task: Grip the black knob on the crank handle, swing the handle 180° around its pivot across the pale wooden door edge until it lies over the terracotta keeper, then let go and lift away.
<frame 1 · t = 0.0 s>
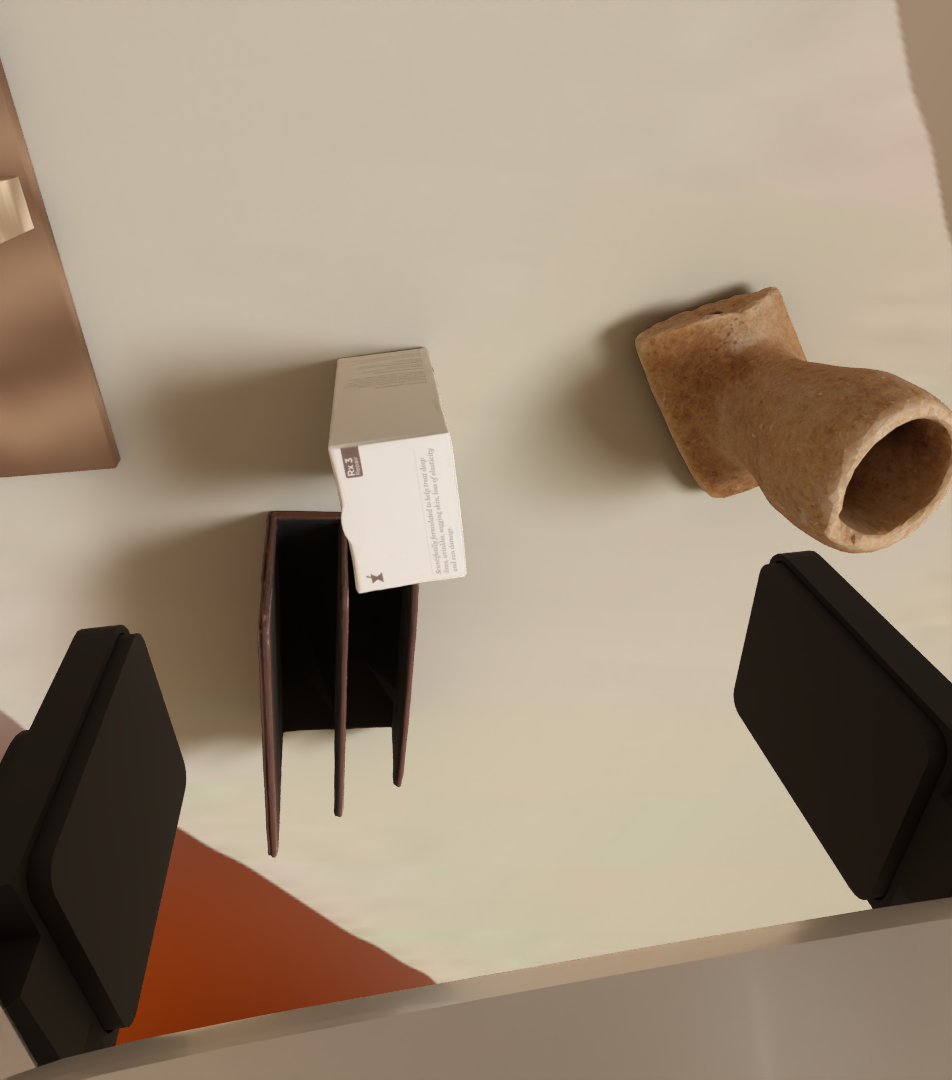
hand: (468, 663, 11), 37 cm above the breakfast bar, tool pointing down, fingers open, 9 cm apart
skincare box: (387, 407, 48), on the breakfast bar
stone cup: (737, 380, 51), on the breakfast bar
letter holder: (339, 622, 56), on the breakfast bar
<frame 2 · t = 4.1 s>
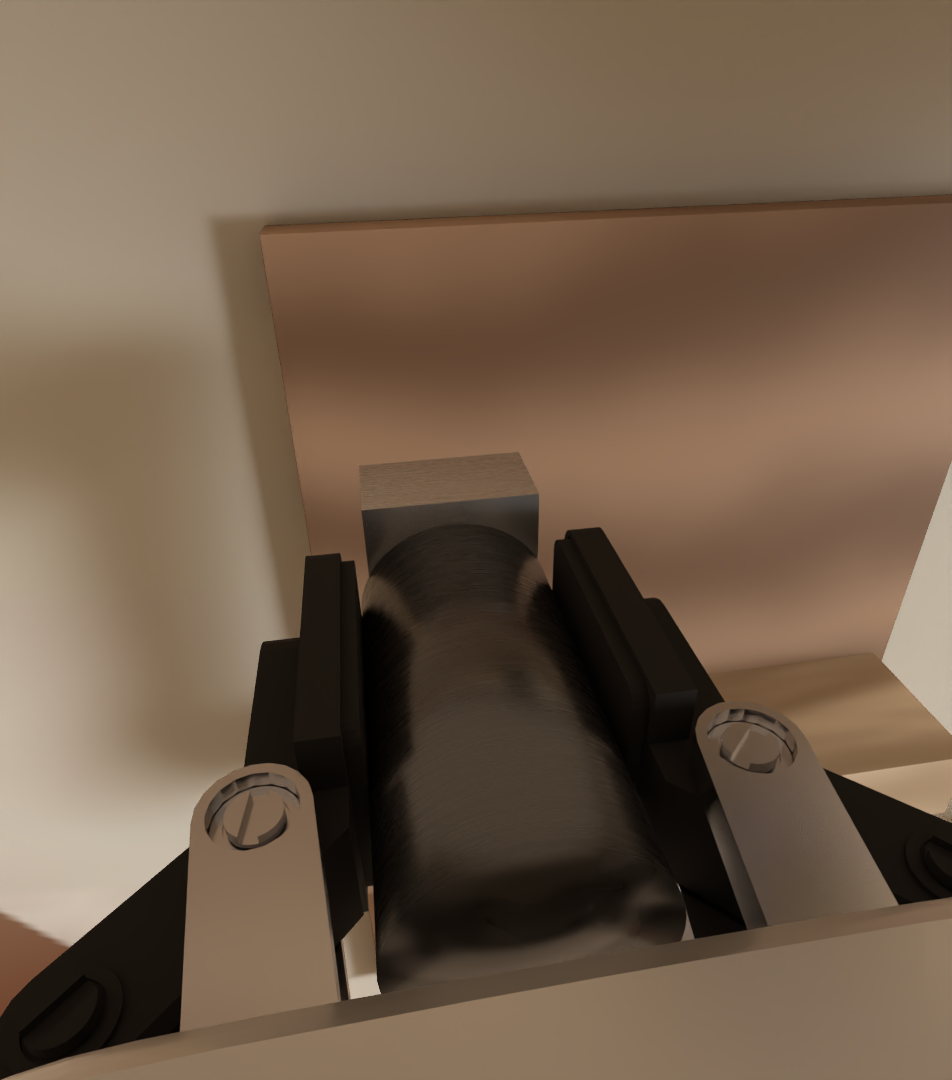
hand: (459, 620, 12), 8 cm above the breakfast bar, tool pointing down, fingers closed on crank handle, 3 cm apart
jamb plate: (609, 687, 25), on the breakfast bar
crank handle: (481, 903, 13), point 10 cm above the breakfast bar, hinge at 0.0°, touching gripper
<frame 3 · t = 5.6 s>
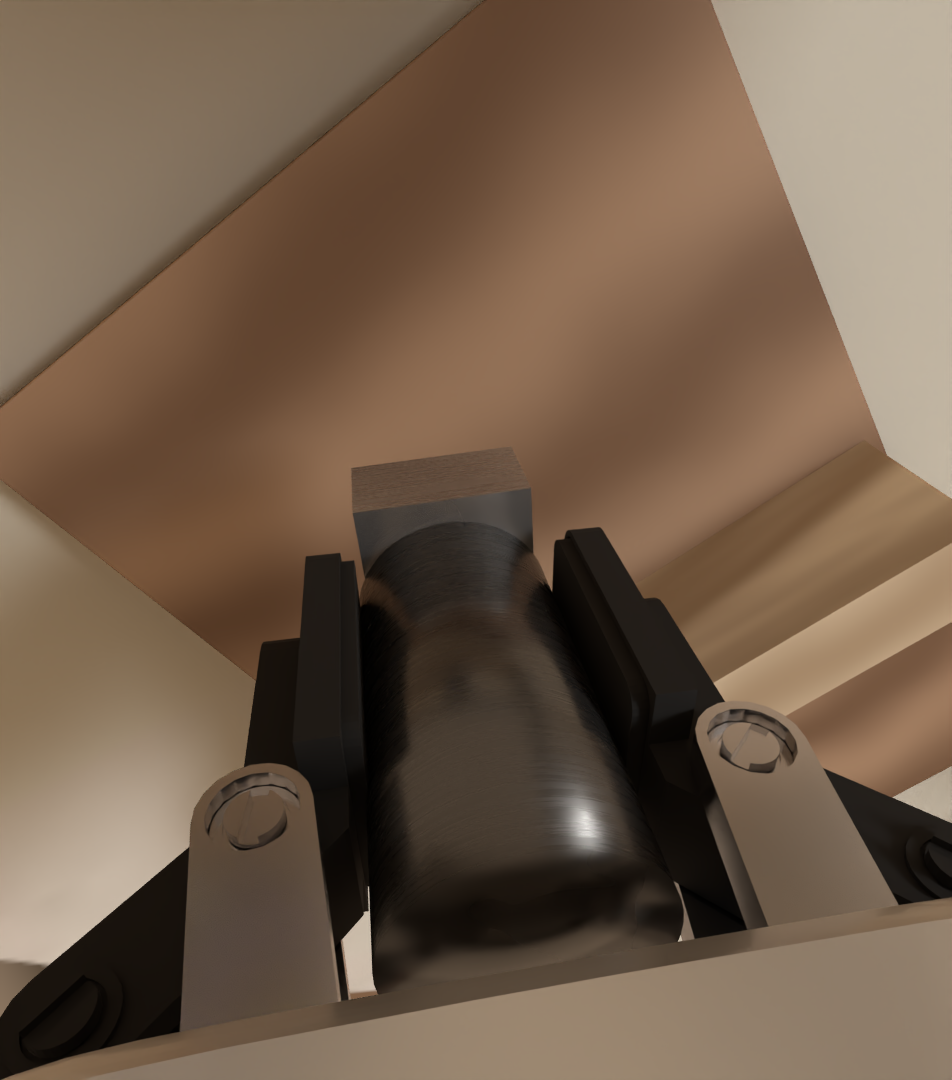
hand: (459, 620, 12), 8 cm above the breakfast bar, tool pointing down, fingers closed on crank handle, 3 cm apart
jamb plate: (603, 609, 23), on the breakfast bar
crank handle: (495, 899, 13), point 10 cm above the breakfast bar, hinge at 30.3°, touching gripper
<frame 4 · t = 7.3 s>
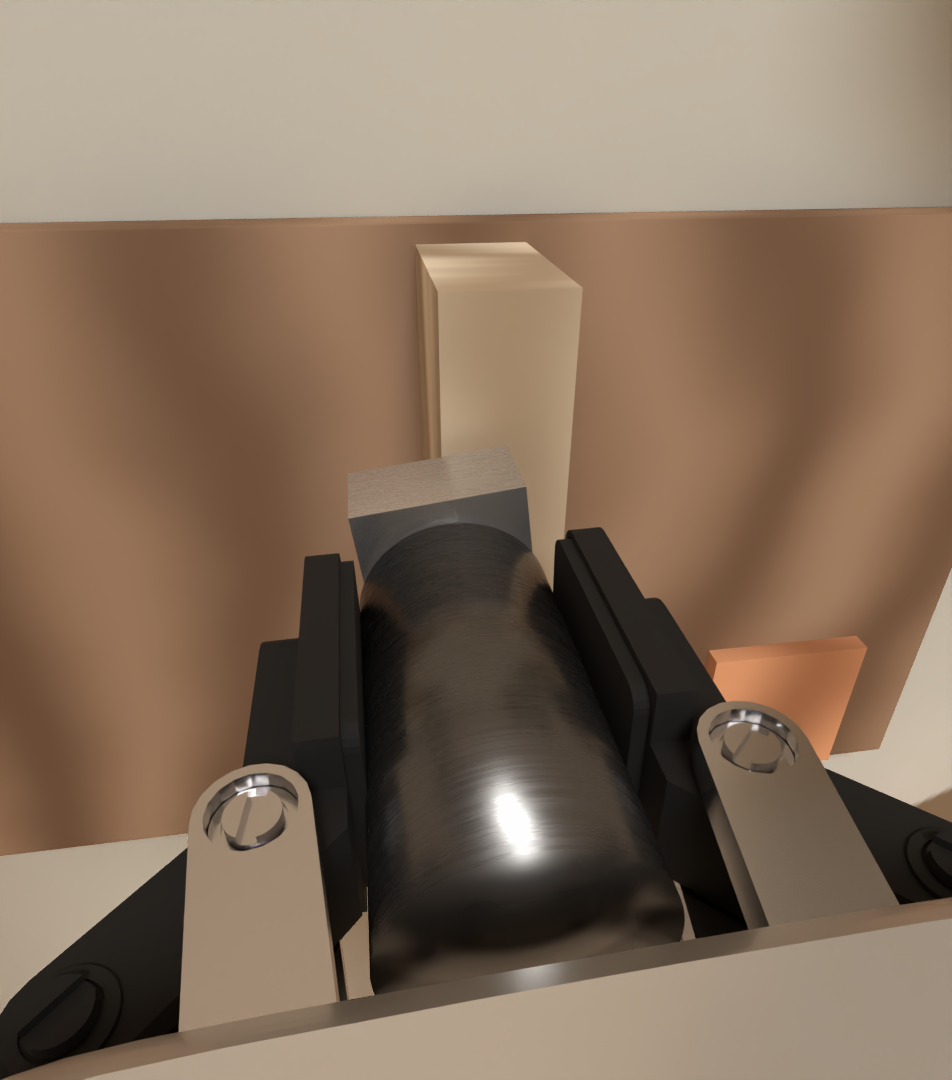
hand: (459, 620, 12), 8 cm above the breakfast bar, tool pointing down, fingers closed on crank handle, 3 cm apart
jamb plate: (465, 553, 21), on the breakfast bar
crank handle: (508, 901, 13), point 10 cm above the breakfast bar, hinge at 82.9°, touching gripper
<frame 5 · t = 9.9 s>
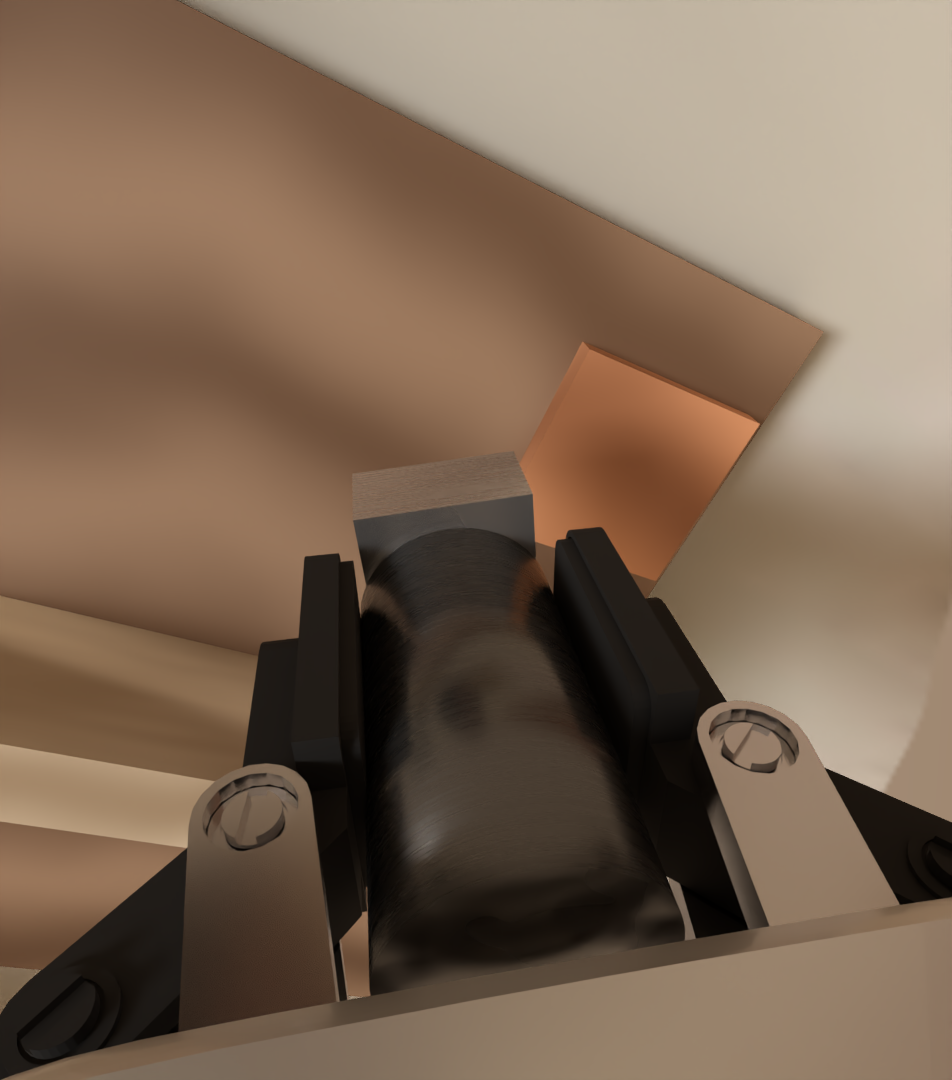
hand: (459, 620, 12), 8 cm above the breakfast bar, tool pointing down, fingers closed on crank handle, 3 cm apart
jamb plate: (277, 665, 22), on the breakfast bar
crank handle: (499, 906, 13), point 10 cm above the breakfast bar, hinge at 150.4°, touching gripper
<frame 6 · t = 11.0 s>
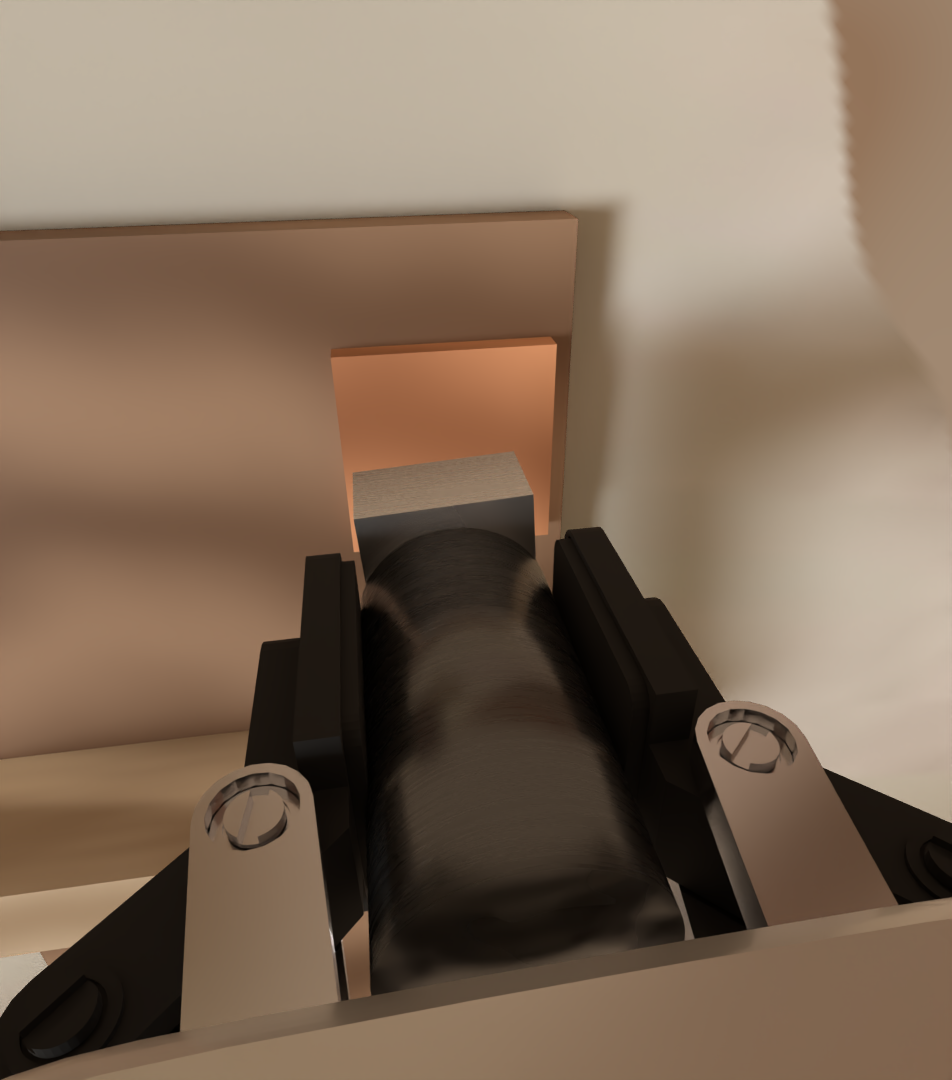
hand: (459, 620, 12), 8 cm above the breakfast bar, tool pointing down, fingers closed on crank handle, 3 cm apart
jamb plate: (266, 728, 24), on the breakfast bar
crank handle: (495, 905, 13), point 10 cm above the breakfast bar, hinge at 176.5°, touching gripper
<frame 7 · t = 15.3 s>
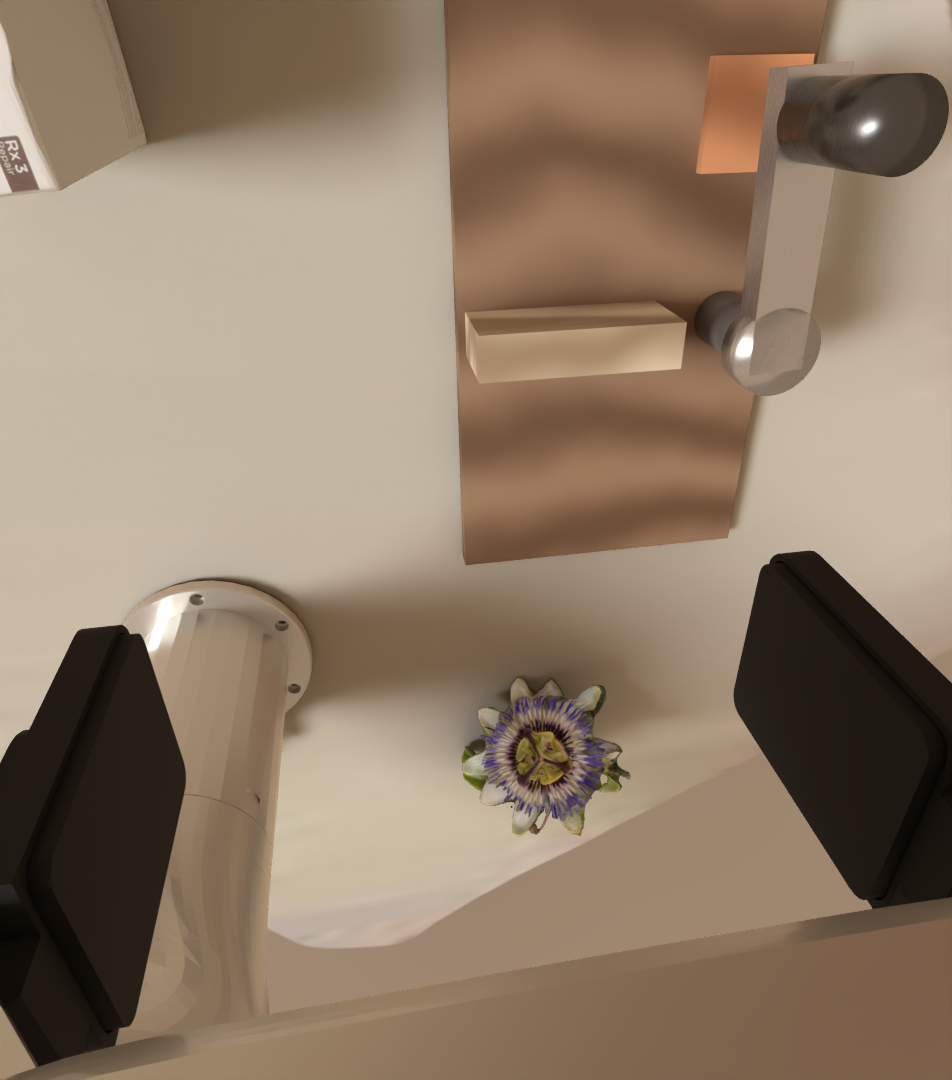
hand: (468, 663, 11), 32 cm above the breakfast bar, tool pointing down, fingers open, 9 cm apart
skincare box: (60, 55, 32), on the breakfast bar
jamb plate: (611, 319, 42), on the breakfast bar
crank handle: (820, 257, 32), point 10 cm above the breakfast bar, hinge at 177.1°
passion flower: (531, 717, 58), on the breakfast bar
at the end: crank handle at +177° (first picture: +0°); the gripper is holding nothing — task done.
